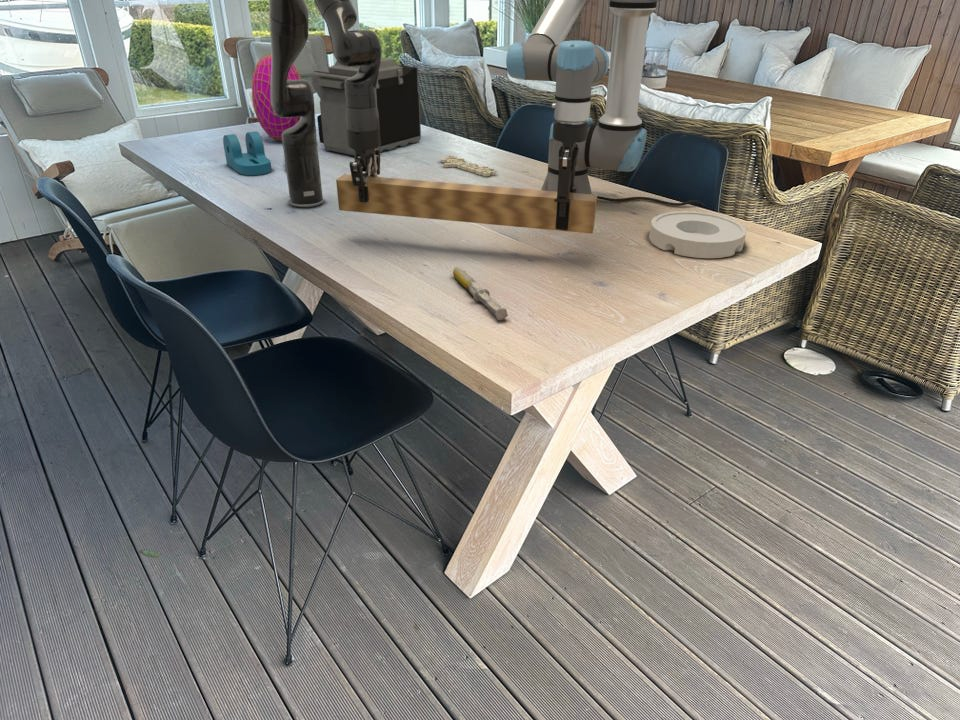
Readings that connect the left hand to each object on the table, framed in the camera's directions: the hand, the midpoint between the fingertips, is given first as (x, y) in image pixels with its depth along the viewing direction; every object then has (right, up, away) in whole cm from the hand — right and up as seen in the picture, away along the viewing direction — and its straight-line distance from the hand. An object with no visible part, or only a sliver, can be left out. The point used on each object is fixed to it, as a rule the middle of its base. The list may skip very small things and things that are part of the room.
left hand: (368, 197), depth 167 cm
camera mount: (-49, +25, +63) cm, 83 cm away
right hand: (+46, -8, -8) cm, 48 cm away
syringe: (+27, -26, -22) cm, 43 cm away
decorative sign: (+22, +26, +66) cm, 74 cm away
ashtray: (+82, -9, +8) cm, 83 cm away
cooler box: (-14, +41, +91) cm, 101 cm away
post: (+23, -6, -3) cm, 24 cm away
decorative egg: (-48, +45, +98) cm, 118 cm away
